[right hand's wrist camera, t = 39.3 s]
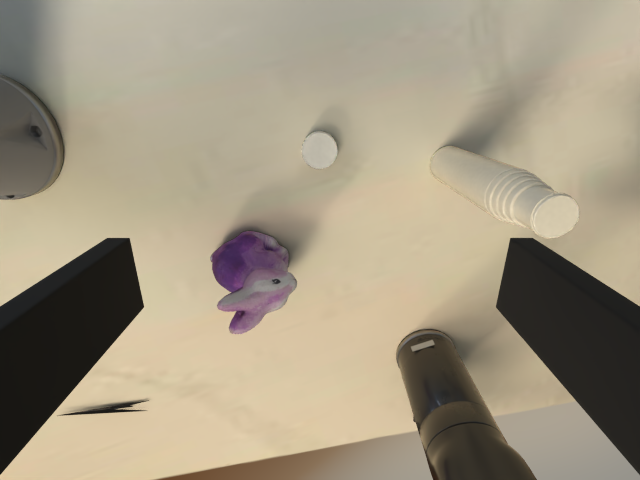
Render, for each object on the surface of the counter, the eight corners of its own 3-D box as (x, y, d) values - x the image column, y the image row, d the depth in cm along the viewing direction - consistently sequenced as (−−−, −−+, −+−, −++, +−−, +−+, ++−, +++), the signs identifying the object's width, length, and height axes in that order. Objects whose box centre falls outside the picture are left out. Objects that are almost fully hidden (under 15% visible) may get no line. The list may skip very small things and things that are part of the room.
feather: (7, 413, 63) (-4, 417, 62) (154, 398, 61) (148, 401, 59) (7, 423, 63) (-4, 428, 61) (155, 409, 61) (148, 413, 59)
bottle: (425, 179, 47) (514, 243, 26) (434, 143, 45) (536, 180, 24) (459, 183, 47) (575, 251, 26) (469, 148, 45) (602, 189, 24)
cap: (327, 172, 47) (327, 175, 44) (296, 156, 46) (295, 159, 44) (343, 140, 45) (344, 142, 43) (311, 124, 44) (311, 125, 42)
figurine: (307, 256, 51) (302, 315, 37) (255, 296, 53) (232, 365, 39) (261, 208, 48) (238, 251, 34) (210, 252, 51) (168, 309, 37)
